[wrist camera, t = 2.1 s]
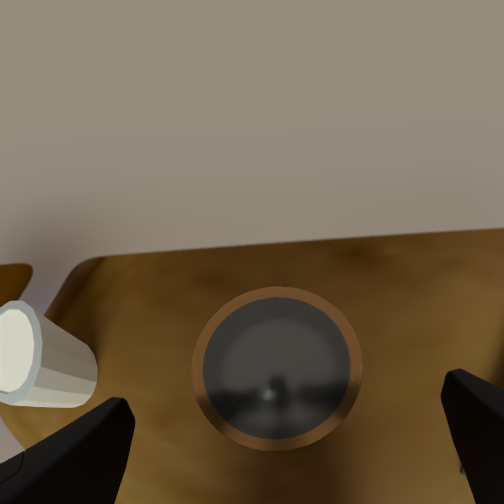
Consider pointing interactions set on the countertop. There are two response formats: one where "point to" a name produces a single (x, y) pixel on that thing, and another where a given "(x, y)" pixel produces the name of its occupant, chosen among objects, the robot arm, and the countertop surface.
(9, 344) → the white cup
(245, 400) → the pin
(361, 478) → the countertop surface
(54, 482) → the robot arm
